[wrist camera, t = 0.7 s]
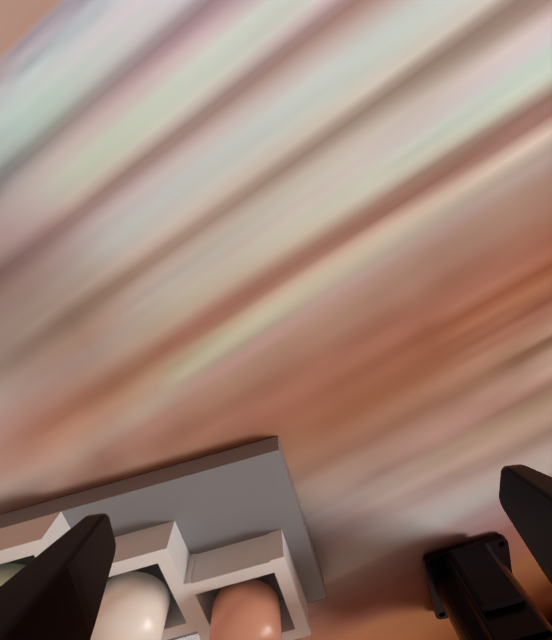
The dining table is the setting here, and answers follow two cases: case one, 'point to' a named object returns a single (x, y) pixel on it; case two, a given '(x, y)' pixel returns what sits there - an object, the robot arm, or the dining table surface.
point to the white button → (132, 608)
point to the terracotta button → (246, 612)
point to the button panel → (194, 533)
